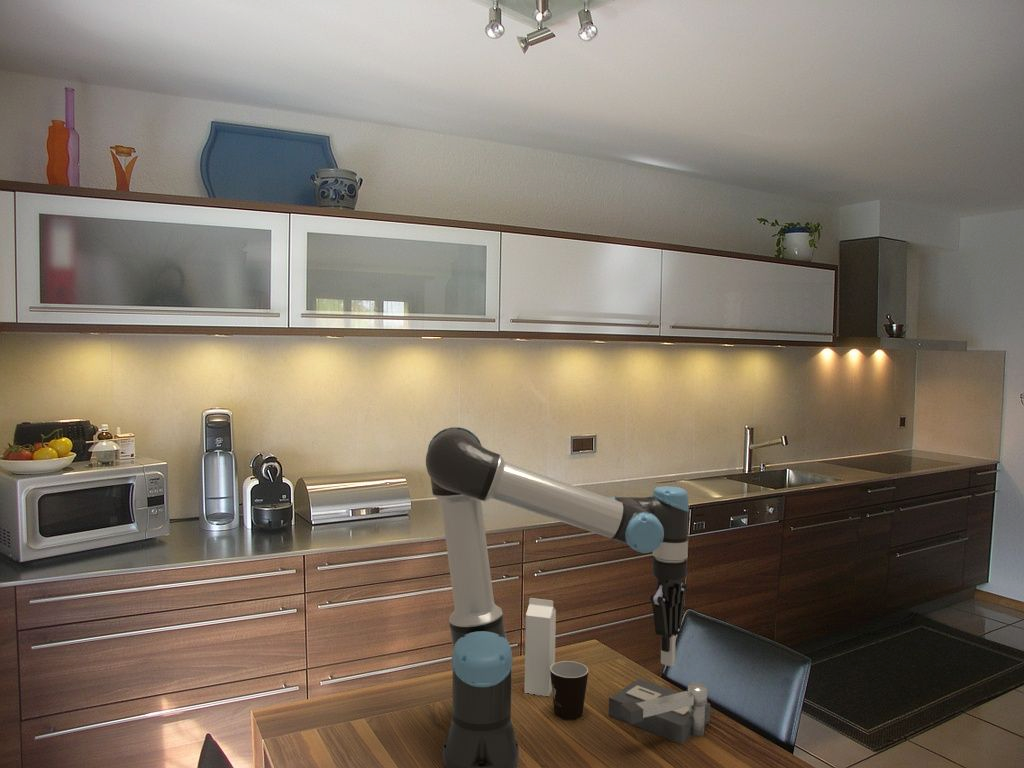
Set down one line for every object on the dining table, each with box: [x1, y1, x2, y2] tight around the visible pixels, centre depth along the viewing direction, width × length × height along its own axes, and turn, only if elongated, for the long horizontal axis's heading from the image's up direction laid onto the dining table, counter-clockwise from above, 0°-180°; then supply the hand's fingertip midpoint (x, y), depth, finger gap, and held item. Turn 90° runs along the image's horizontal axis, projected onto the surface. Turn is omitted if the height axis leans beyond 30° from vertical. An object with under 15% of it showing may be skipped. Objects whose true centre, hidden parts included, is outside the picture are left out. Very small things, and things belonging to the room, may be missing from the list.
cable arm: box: [620, 682, 708, 725], centre depth 149 cm, size 20×4×3 cm, turn 116°
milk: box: [524, 597, 557, 698], centre depth 172 cm, size 6×6×22 cm
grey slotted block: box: [608, 678, 711, 745], centre depth 159 cm, size 20×13×6 cm, turn 49°
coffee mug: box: [550, 660, 589, 721], centre depth 162 cm, size 12×9×10 cm
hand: (667, 663), depth 158 cm, fingers closed
